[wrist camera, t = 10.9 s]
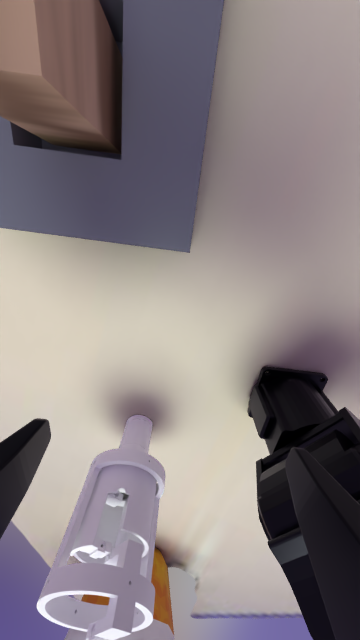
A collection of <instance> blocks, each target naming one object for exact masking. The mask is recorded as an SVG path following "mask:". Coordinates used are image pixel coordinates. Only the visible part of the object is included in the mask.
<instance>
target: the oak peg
mask: <svg viewBox="0 0 360 640" xmlns="http://www.w3.org/2000/svg"><path fill="white" fill-rule="evenodd" d="M122 67H123V58H122V56H121V53H120V51H119V48H118V46H117V43H116V41H115V38H114V36H113V34H112V31H111V29H110V26H109V24H108V21H107V19H106V16H105V14H104V11H103V9H102V7H101V4H100V2H99V0H0V116H1V117H3V118H5V119H7V120H8V121H10V122H12V123H14V124H16V125H18V126H19V127H21V128H23V129H25V130H27V131H29V132H30V133H32V134H34V135H36V136H38V137H40V138H41V139H43V140H45V141H47V142H49V143H51V144H53V145H55V146H62V147H70V148H77V149H84V150H92V151H99V152H106V153H114V154H121V155H122Z"/></svg>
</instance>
